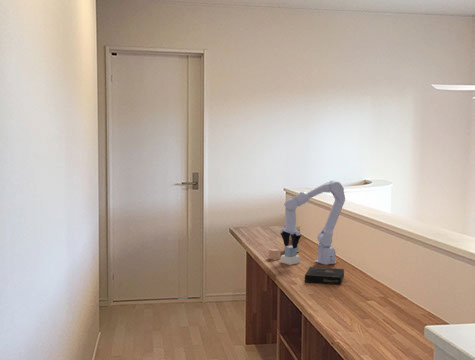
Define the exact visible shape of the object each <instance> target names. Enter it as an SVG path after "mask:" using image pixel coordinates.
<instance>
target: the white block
mask: <svg viewBox="0 0 475 360" xmlns="http://www.w3.org/2000/svg"><path fill="white" fill-rule="evenodd" d="M300 261H301V260H300V255H297V256H294V257H288V256H285V254H282V255H280V263H282V264H286V265H290V266H292V265H296V264H301V263H300Z"/></svg>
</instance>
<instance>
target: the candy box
mask: <svg viewBox="0 0 475 360" xmlns="http://www.w3.org/2000/svg"><path fill="white" fill-rule="evenodd" d="M296 230H298V231H300V232H301V226H300V225H296ZM290 235H294V234H291V233H290ZM300 240H301V238H300V239H299V241H298V245H297V253H301V252H300V248H301V246H300V242H301V241H300ZM291 245H292V239H291V236H290V237H289V244H288V245H287V246H291Z"/></svg>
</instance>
